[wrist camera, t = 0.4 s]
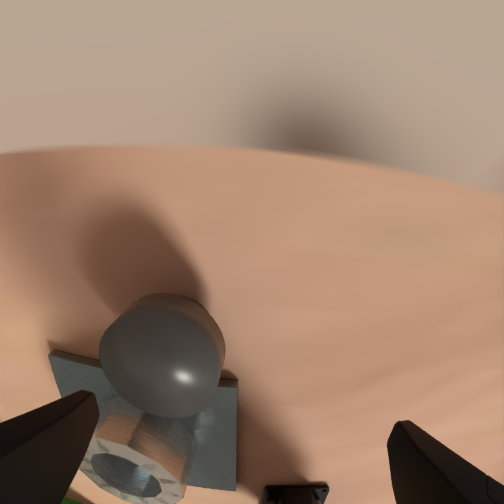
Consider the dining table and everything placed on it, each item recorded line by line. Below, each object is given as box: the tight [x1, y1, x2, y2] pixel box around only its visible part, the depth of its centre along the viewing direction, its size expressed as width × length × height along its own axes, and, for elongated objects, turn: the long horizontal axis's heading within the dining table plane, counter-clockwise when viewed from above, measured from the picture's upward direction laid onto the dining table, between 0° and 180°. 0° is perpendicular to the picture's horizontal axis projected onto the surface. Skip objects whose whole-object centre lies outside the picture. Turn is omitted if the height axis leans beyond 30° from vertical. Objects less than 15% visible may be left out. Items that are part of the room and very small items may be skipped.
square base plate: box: [48, 350, 238, 504], centre depth 21 cm, size 14×16×6 cm
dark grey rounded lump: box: [99, 293, 225, 418], centre depth 18 cm, size 7×7×6 cm
